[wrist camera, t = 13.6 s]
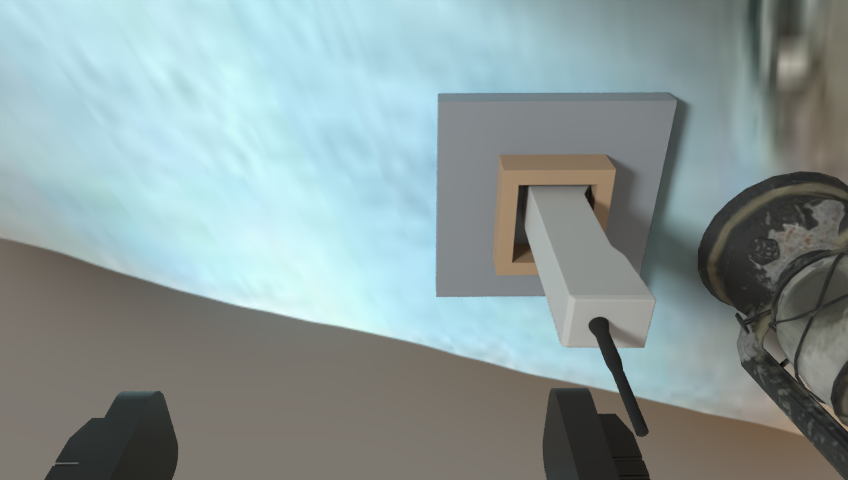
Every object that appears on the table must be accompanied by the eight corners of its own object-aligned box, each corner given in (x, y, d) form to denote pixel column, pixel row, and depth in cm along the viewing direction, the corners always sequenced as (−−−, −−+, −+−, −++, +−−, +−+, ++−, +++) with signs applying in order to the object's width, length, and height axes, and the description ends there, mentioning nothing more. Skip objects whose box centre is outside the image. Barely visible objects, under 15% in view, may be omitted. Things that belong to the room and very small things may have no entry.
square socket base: (437, 93, 48) (440, 115, 44) (667, 92, 49) (692, 114, 44) (435, 284, 57) (437, 317, 53) (629, 282, 58) (646, 315, 53)
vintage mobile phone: (580, 217, 52) (698, 461, 30) (520, 216, 52) (596, 461, 30) (587, 176, 50) (717, 406, 28) (525, 175, 50) (609, 405, 28)
